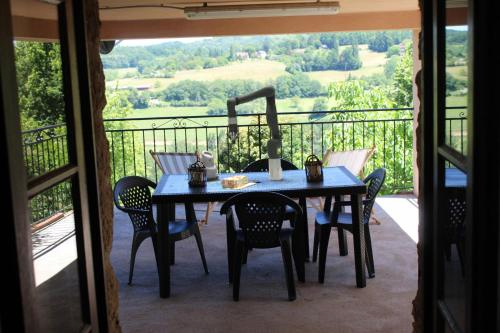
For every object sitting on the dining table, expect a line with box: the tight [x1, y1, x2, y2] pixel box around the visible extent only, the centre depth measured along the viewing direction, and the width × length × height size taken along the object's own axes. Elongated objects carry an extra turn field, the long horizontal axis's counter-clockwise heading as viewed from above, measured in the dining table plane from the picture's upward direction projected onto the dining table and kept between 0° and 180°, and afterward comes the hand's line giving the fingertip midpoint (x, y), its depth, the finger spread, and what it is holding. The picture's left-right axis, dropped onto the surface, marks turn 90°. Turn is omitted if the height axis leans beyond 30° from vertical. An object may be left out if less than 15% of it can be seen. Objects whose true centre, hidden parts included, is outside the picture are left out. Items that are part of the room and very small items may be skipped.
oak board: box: [223, 182, 257, 190], centre depth 530 cm, size 14×26×1 cm, turn 151°
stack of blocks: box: [221, 174, 249, 188], centre depth 531 cm, size 21×6×12 cm
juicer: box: [188, 150, 222, 183], centre depth 567 cm, size 30×16×24 cm, turn 48°
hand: (233, 144), depth 555 cm, fingers closed
